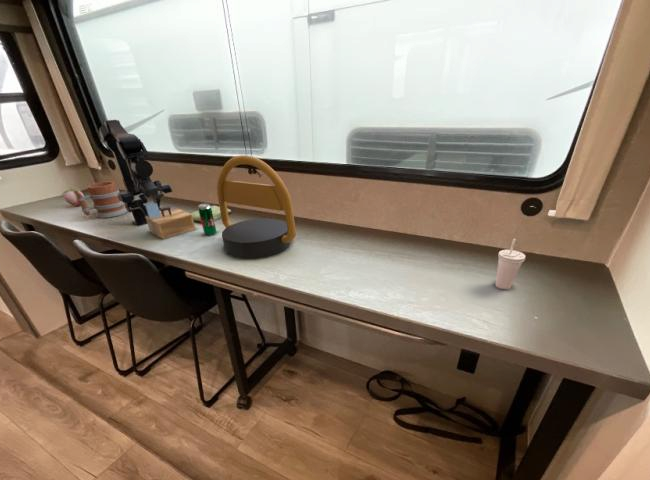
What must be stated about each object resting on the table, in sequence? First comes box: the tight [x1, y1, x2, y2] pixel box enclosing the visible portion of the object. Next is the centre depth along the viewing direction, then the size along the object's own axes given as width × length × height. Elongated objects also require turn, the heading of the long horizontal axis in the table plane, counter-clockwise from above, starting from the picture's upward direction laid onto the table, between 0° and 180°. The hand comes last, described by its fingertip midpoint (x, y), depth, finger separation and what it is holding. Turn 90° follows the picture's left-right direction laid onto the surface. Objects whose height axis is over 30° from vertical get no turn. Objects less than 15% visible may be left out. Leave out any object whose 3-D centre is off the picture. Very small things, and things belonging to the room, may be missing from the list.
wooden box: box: [146, 216, 196, 240], centre depth 142 cm, size 14×15×6 cm
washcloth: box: [189, 205, 232, 223], centre depth 157 cm, size 13×18×3 cm
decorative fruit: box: [61, 187, 85, 207], centre depth 183 cm, size 9×8×10 cm
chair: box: [216, 155, 297, 260], centre depth 117 cm, size 25×35×32 cm
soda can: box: [197, 203, 217, 236], centre depth 135 cm, size 5×5×12 cm
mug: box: [74, 180, 128, 219], centre depth 164 cm, size 14×19×15 cm
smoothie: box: [495, 238, 526, 290], centre depth 89 cm, size 6×6×14 cm
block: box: [143, 201, 161, 219], centre depth 132 cm, size 4×4×5 cm
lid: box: [145, 205, 192, 226], centre depth 140 cm, size 14×15×4 cm
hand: (152, 214), depth 132 cm, fingers closed on block, 4 cm apart
